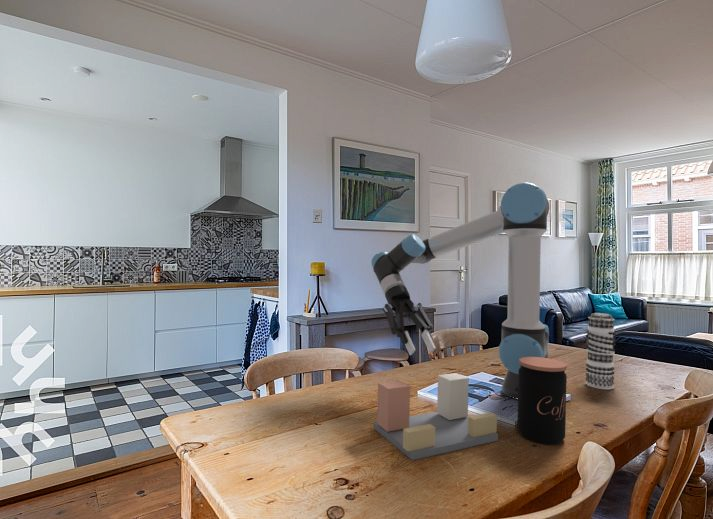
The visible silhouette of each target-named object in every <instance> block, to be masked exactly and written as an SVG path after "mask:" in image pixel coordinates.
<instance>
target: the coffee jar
mask: <svg viewBox="0 0 713 519" xmlns="http://www.w3.org/2000/svg"><path fill="white" fill-rule="evenodd" d="M519 364H520V365H521V367H520V368H519V372H518V400H517V416H516V417H517V421H516V426H517V430H518V432H519V433H520V435H521V437H523V438H525V439H526V440H528V441H529V442H530V441H531V442H534V443H537V444H543V445H549V446H550V445H559V444H560V443H562V442H563V440H564V439H565V438H566V423H567V422H566V418H567V417H566V416H567V415H566V414H567V380H568V378H567V377H568V376H567V373H566V372H565V371H567V366H568V364H567V363H565V362H563V361H561V360H558V359H555V358H554V359H553V358H549V357H548V358H542V357H523V358H520V359H519Z"/></svg>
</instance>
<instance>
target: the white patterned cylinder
mask: <svg viewBox="0 0 713 519" xmlns="http://www.w3.org/2000/svg"><path fill="white" fill-rule="evenodd" d="M587 318H588V324H587V329H586V330H585V337H586V338H587V339H586V340H585V342H586V345H585V348H586V350H585V351H586V352H587V359H586V364H585V367H586V368H585V370H586V371H587V372H585V376H586V377H585V380H586V381H585V385H586V384H587V385H586V386H588V387H590V388H595V389H599V390H614V388H615V387H614V384H615V382H614V380H615V376H614V375H615V372H614V371H615V367H614V363H615V362H614V355H615V351H616V349H615V348H614V346H616V343H615V341H617V339H616V338H615V337H614V336H616V335H617V333H616V331H615V322H614V321H615V320H616V319H615V318H613V316H612V315H611V314H609V313H601V312H597V313H596V312H594V313H591V314H590V316H587Z"/></svg>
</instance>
